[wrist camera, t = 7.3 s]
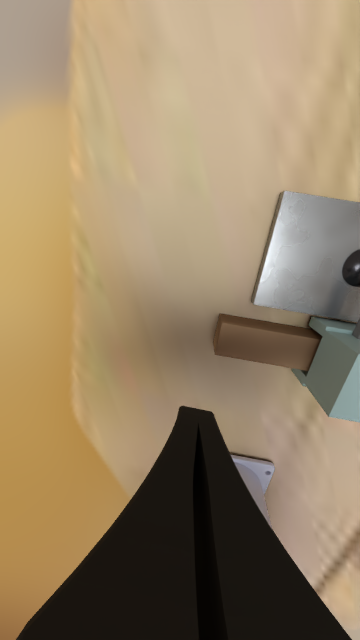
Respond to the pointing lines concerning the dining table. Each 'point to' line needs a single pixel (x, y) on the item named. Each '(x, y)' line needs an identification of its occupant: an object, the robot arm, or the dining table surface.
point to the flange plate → (312, 258)
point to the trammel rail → (266, 342)
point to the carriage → (335, 369)
